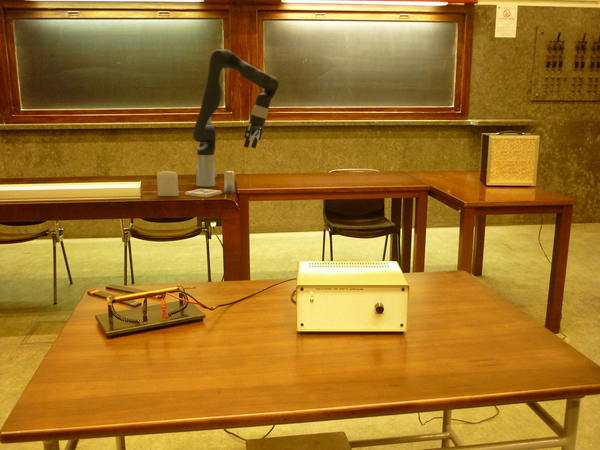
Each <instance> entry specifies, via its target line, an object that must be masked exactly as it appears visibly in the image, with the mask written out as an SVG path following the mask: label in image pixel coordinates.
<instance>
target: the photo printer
mask: <svg viewBox="0 0 600 450" xmlns="http://www.w3.org/2000/svg"><path fill="white" fill-rule="evenodd" d="M178 178H179V177H178V173H177V172H175V171H171V170H165V171H164V170H163V171H159V172H157V173H156V185H157V187H156V188H157V196H158V197H178V196H179V184H178V180H179V179H178Z"/></svg>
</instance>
